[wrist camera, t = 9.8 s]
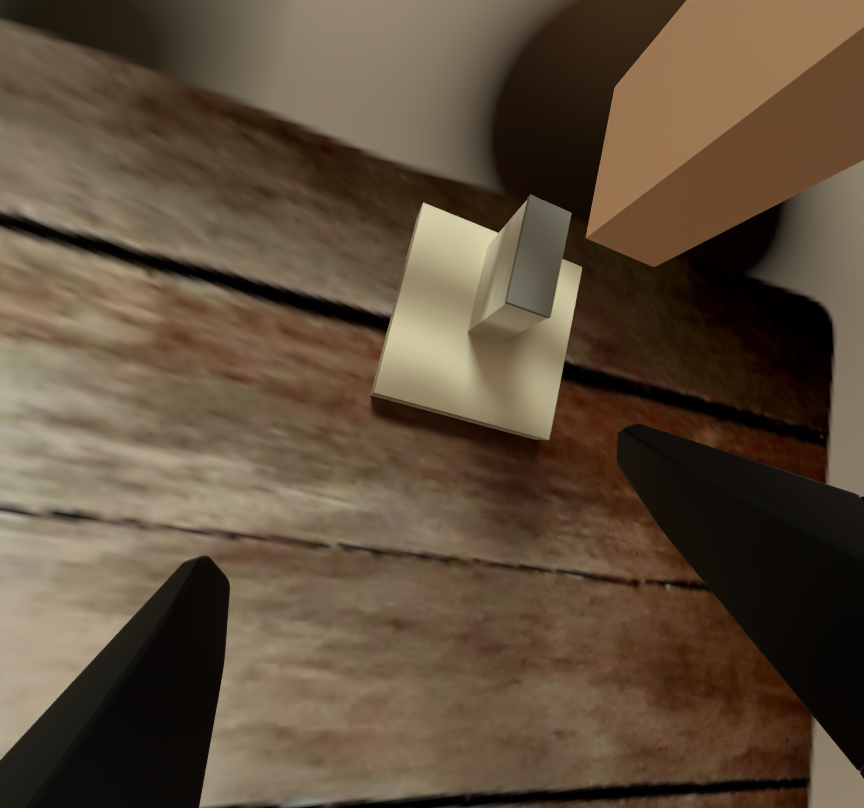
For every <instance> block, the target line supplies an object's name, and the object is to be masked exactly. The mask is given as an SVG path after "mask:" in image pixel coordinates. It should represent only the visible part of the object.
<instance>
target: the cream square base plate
mask: <svg viewBox="0 0 864 808" xmlns="http://www.w3.org/2000/svg"><path fill="white" fill-rule="evenodd" d="M570 218H571V213H570V212H568V211H566V210H564V209H562V208H559V207H557V206H555V205H552V204H550V203H548V202H546V201H543V200H541V199H539V198H536V197H534V196H532V195H529V197H528V199H527V201H526V202H525V203H524V204H523V205H522V206H521V208H520V209H519V210H518V211H517V212H516V214H515V215H514V216H513V217H512V218H511V219H510V221H509V222H508V223H507V224H506V225H505V226H504V228H503V229H502V230H501V231H500V232H499V233H497V232H494V231H492V230H489V229H487V228H484V227H482V226H479V225H477V224H475V223H472V222H470V221H467V220H465V219H462V218H460V217H457V216H455V215H452V214H450V213H447V212H445V211H443V210H440V209H438V208H435V207H433V206H430V205H428V204H425V203H423V205H422V207H421V210H420V212H419V214H418V217H417V220H416V224H415V228H414V231H413V235H412V239H411V243H410V247H409V250H408V254H407V258H406V262H405V266H404V270H403V273H402V277H401V281H400V285H399V289H398V292H397V296H396V300H395V304H394V308H393V311H392V315H391V319H390V323H389V327H388V330H387V334H386V338H385V342H384V346H383V350H382V353H381V357H380V361H379V365H378V369H377V372H376V376H375V380H374V384H373V388H372V391H371V396H375V397H378V398H382V399H386V400H390V401H393V402H397V403H401V404H404V405H408V406H412V407H416V408H419V409H423V410H427V411H430V412H434V413H438V414H441V415H445V416H449V417H453V418H456V419H460V420H464V421H467V422H471V423H475V424H479V425H482V426H486V427H490V428H493V429H497V430H501V431H505V432H508V433H512V434H516V435H519V436H523V437H527V438H531V439H534V440H549V438H550V433H551V428H552V422H553V417H554V412H555V407H556V402H557V396H558V391H559V386H560V381H561V375H562V370H563V365H564V360H565V355H566V349H567V344H568V339H569V334H570V329H571V323H572V318H573V313H574V308H575V302H576V297H577V292H578V287H579V282H580V276H581V271H582V267H581V266H578V265H576V264H573V263H571V262H568V261H566V260H563V259H562V258H563V253H564V248H565V243H566V238H567V233H568V228H569V223H570Z"/></svg>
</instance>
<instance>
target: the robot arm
mask: <svg viewBox="0 0 864 808" xmlns="http://www.w3.org/2000/svg"><path fill="white" fill-rule="evenodd" d="M617 462H618V464H619V467H620V468H621V470H622V471H623V473H624V474H625V476H626V478H627V479H628V481H629V482H630V484H631V485H632V487H633V488H634V490H635V491H636V493H637V494H638V496H639V497H640V499H641V500H642V502H643V503H644V505H645V506H646V508H647V510H648V511H649V513H650V514H651V516H652V517H653V519H654V520H655V521H656V523H657V524H658V526H659V527H660V528H661V530H662V531H663V532H664V533H665V535H666V536H667V537H668V539H669V540H670V541H671V542H672V543H673V545H674V546H675V547H676V548H677V550H678V551H679V552H680V553H681V554H682V556H683V557H684V558H685V559H686V561H687V562H688V563H689V564H690V565H691V567H692V568H693V569H694V570H695V572H696V573H697V574H698V575H699V577H700V578H701V579H702V580H703V581H704V583H705V584H706V585H707V586H708V588H709V589H710V590H711V591H712V592H713V594H714V595H715V596H716V597H717V599H718V600H719V601H720V602H721V603H722V605H723V606H724V607H725V608H726V610H727V611H728V612H729V613H730V615H731V616H732V617H733V618H734V619H735V621H736V622H737V623H738V624H739V626H740V627H741V628H742V629H743V630H744V632H745V633H746V634H747V635H748V637H749V638H750V639H751V640H752V641H753V643H754V644H755V645H756V646H757V648H758V649H759V650H760V651H761V653H762V654H763V655H764V656H765V657H766V659H767V660H768V661H769V662H770V664H771V665H772V666H773V667H774V668H775V670H776V671H777V672H778V673H779V675H780V676H781V677H782V678H783V679H784V681H785V682H786V683H787V684H788V686H789V687H790V688H791V689H792V690H793V692H794V693H795V694H796V695H797V697H798V698H799V699H800V700H801V702H802V703H803V704H804V705H805V706H806V708H807V709H808V710H809V711H810V713H811V714H812V715H813V716H814V717H815V719H816V720H817V721H818V722H819V724H820V725H821V726H822V727H823V728H824V730H825V731H826V732H827V733H828V735H829V736H830V737H831V738H832V739H833V741H834V742H835V743H836V744H837V746H838V747H839V748H840V749H841V751H842V752H843V753H844V754H845V755H846V757H847V758H848V759H849V760H850V762H851V763H852V764H853V765H854V766H855V768H856V769H857V770H859V771H860V774H861V775H862V777H863V778H864V497H859V495H857V494H855V493H852V492H849V491H846V490H843V489H839V488H836V487H833V486H830V485H827V484H824V483H821V482H818V481H815V480H812V479H809V478H806V477H802V476H799V475H796V474H793V473H790V472H787V471H784V470H781V469H778V468H775V467H772V466H769V465H766V464H762V463H759V462H756V461H753V460H750V459H747V458H744V457H741V456H738V455H735V454H732V453H729V452H725V451H722V450H719V449H716V448H713V447H710V446H707V445H704V444H701V443H698V442H695V441H692V440H688V439H685V438H682V437H679V436H676V435H673V434H670V433H667V432H664V431H661V430H658V429H655V428H652V427H648V426H645V425H642V424H634V425H630V426H627V427H624V428H621V429H620V430H619V432H618V441H617ZM229 595H230V584H229V581H228V578H227V577H226V575H225V574H224V573H223V572H222V571H221V570H220V568H219V567H218V566H217V565H216V564H215V563H214V561H213V560H212V559H211V558H210V557H208V556H200V557H197V558H194V559H191V560H188V561H186V562H184V563H183V564H182V565H181V566H180V567H179V568H178V569H177V570H176V571H175V572H174V573H173V574H172V575H171V576H170V577H169V579H168V580H167V581H166V582H165V583H164V584H163V585H162V586H161V587H160V588H159V589H158V590H157V592H156V593H155V594H154V595H153V596H152V597H151V598H150V599H149V600H148V601H147V602H146V603H145V604H144V606H143V607H142V608H141V609H140V610H139V611H138V612H137V613H136V614H135V615H134V616H133V617H132V619H131V620H130V621H129V622H128V623H127V624H126V625H125V626H124V627H123V628H122V629H121V630H120V631H119V633H118V634H117V635H116V636H115V637H114V638H113V639H112V640H111V641H110V642H109V643H108V644H107V646H106V647H105V648H104V649H103V650H102V651H101V652H100V653H99V654H98V655H97V656H96V657H95V658H94V660H93V661H92V662H91V663H90V664H89V665H88V666H87V667H86V668H85V669H84V670H83V671H82V673H81V674H80V675H79V676H78V677H77V678H76V679H75V680H74V681H73V682H72V683H71V684H70V685H69V687H68V688H67V689H66V690H65V691H64V692H63V693H62V694H61V695H60V696H59V697H58V698H57V699H56V701H55V702H54V703H53V704H52V705H51V706H50V707H49V708H48V709H47V710H46V711H45V712H44V714H43V715H42V716H41V717H40V718H39V719H38V720H37V721H36V722H35V723H34V724H33V725H32V726H31V728H30V729H29V730H28V731H27V732H26V733H25V734H24V735H23V736H22V737H21V738H20V739H19V741H18V742H17V743H16V744H15V745H14V746H13V747H12V748H11V749H10V750H9V751H8V752H7V753H6V755H5V756H4V757H3V758H2V759H1V760H0V808H199V804H200V799H201V793H202V787H203V782H204V776H205V770H206V765H207V759H208V754H209V748H210V742H211V737H212V731H213V725H214V720H215V714H216V708H217V703H218V697H219V691H220V686H221V680H222V674H223V667H224V659H225V648H226V635H227V621H228V608H229Z"/></svg>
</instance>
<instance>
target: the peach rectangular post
mask: <svg viewBox="0 0 864 808" xmlns="http://www.w3.org/2000/svg"><path fill="white" fill-rule="evenodd" d="M863 160H864V0H687V1H686V2H685V3H684V4H683V6H682V7H681V8H680V9H679V10H678V12H677V13H676V14H675V15H674V16H673V18H672V19H671V20H670V21H669V23H668V24H667V25H666V26H665V27H664V29H663V30H662V31H661V32H660V34H659V35H658V36H657V37H656V38H655V40H654V41H653V42H652V43H651V44H650V45H649V47H648V48H647V49H646V51H645V52H644V53H643V54H642V55H641V56H640V58H639V59H638V60H637V61H636V63H635V64H634V65H633V66H632V67H631V69H630V70H629V71H628V72H627V73H626V75H625V76H624V77H623V78H622V79H621V81H620V82H619V83H618V84H617V85H616V87H615V89H614V95H613V100H612V105H611V110H610V115H609V121H608V126H607V131H606V136H605V141H604V147H603V152H602V157H601V162H600V167H599V173H598V178H597V183H596V188H595V193H594V198H593V204H592V209H591V214H590V219H589V224H588V230H587V235H586V238H587V239H589V240H592V241H594V242H596V243H599V244H601V245H603V246H606V247H608V248H610V249H613V250H615V251H617V252H620V253H622V254H624V255H627V256H629V257H631V258H634V259H636V260H638V261H641V262H643V263H645V264H648V265H650V266H652V267H655V266H657V265H659V264H661V263H663V262H665V261H667V260H669V259H671V258H673V257H675V256H677V255H679V254H681V253H683V252H685V251H687V250H689V249H690V248H692V247H694V246H696V245H698V244H700V243H702V242H704V241H706V240H708V239H710V238H712V237H714V236H716V235H718V234H720V233H722V232H724V231H726V230H728V229H730V228H731V227H734V226H735V225H737V224H739V223H741V222H743V221H745V220H747V219H749V218H751V217H753V216H755V215H757V214H759V213H761V212H763V211H765V210H767V209H769V208H770V207H773V206H775V205H776V204H779V203H780V202H782V201H784V200H786V199H788V198H790V197H792V196H794V195H796V194H798V193H800V192H802V191H804V190H806V189H808V188H810V187H812V186H814V185H816V184H818V183H819V182H822V181H823V180H825V179H827V178H829V177H831V176H833V175H835V174H837V173H839V172H841V171H843V170H845V169H847V168H849V167H851V166H853V165H855V164H857V163H859V162H861V161H863Z"/></svg>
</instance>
